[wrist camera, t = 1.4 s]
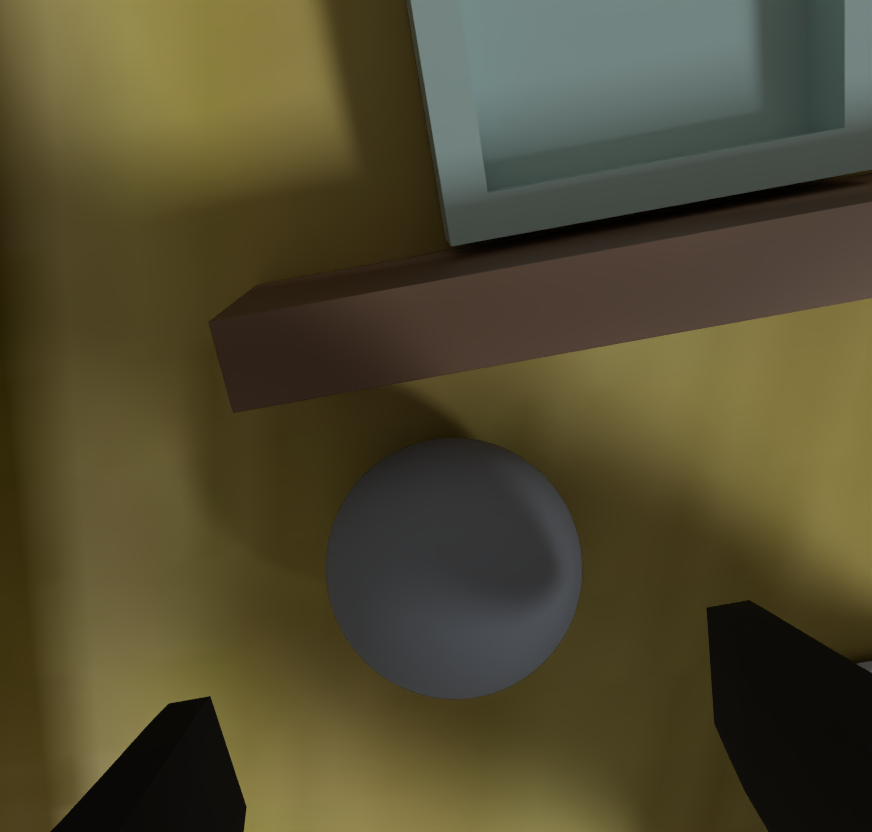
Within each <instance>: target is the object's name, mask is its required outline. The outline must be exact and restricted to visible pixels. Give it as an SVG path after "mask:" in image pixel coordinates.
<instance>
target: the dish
mask: <svg viewBox="0 0 872 832" xmlns="http://www.w3.org/2000/svg"><path fill="white" fill-rule="evenodd" d="M406 4H407V10H408V16H409V22H410V28H411V34H412V40H413V46H414V52H415V58H416V64H417V70H418V76H419V82H420V88H421V94H422V100H423V106H424V112H425V118H426V124H427V130H428V136H429V142H430V148H431V154H432V160H433V166H434V172H435V178H436V184H437V190H438V196H439V202H440V208H441V215H442V221H443V227H444V233H445V238H446V240H447V241H448V243H449V244H450V246H456V245H462V244H467V243H473V242H478V241H484V240H489V239H495V238H500V237H506V236H511V235H517V234H522V233H527V232H533V231H538V230H544V229H549V228H555V227H560V226H566V225H571V224H577V223H582V222H588V221H593V220H599V219H604V218H610V217H615V216H621V215H626V214H632V213H637V212H643V211H648V210H654V209H659V208H665V207H670V206H676V205H681V204H687V203H692V202H697V201H703V200H708V199H714V198H719V197H725V196H730V195H736V194H741V193H747V192H752V191H758V190H763V189H769V188H774V187H780V186H785V185H791V184H796V183H802V182H807V181H813V180H818V179H824V178H829V177H835V176H840V175H846V174H851V173H856V172H862V171H867V170H872V0H406Z"/></svg>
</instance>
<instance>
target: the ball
mask: <svg viewBox="0 0 872 832" xmlns="http://www.w3.org/2000/svg"><path fill="white" fill-rule="evenodd" d="M326 581H327V587H328V593H329V598H330V603H331V606H332V609H333V612H334V615H335V618H336V620H337V622H338V624H339V626H340V628H341V630H342V632H343V634H344V636H345V638H346V639H347V640H348V642H349V643H350V645H351V646H352V648H353V649H354V650H355V651H356V652H357V654H358V655H359V656H360V657H361V658H362V659H363V660H364V661H365V662H366V663H367V664H368V665H369V666H370V667H371V668H372V669H373V670H375V671H376V672H377V673H378V674H379V675H381V676H382V677H384V678H386V679H387V680H389V681H390V682H392V683H394V684H396V685H398V686H400V687H402V688H404V689H407V690H409V691H412V692H414V693H417V694H420V695H424V696H429V697H434V698H442V699H468V698H476V697H481V696H485V695H489V694H492V693H495V692H498V691H501V690H504V689H506V688H508V687H510V686H512V685H514V684H516V683H518V682H519V681H521V680H522V679H524V678H525V677H527V676H528V675H530V674H531V673H532V672H533V671H534V670H536V669H537V668H538V667H539V666H540V665H542V664H543V662H544V661H545V660H546V659H547V658H548V657H549V656H550V655H551V654H552V653H553V652H554V650H555V649H556V648H557V646H558V645H559V644H560V642H561V640H562V639H563V637H564V635H565V633H566V632H567V630H568V628H569V626H570V624H571V622H572V619H573V617H574V614H575V612H576V608H577V604H578V600H579V596H580V591H581V584H582V555H581V547H580V542H579V537H578V533H577V530H576V527H575V525H574V522H573V519H572V516H571V514H570V512H569V510H568V508H567V506H566V504H565V502H564V501H563V499H562V498H561V496H560V495H559V493H558V492H557V491H556V489H555V488H554V487H553V485H552V484H551V482H550V481H549V480H548V479H547V478H546V477H545V476H544V475H543V474H542V473H541V472H540V471H539V470H537V469H536V468H535V467H534V466H532V465H531V464H530V463H528V462H527V461H526V460H524V459H523V458H522V457H520V456H518V455H516V454H515V453H513V452H511V451H509V450H507V449H505V448H502V447H500V446H497V445H495V444H491V443H487V442H484V441H480V440H473V439H466V438H441V439H432V440H428V441H424V442H419V443H416V444H413V445H411V446H408V447H405V448H403V449H400V450H399V451H397V452H395V453H393V454H391V455H389V456H387V457H386V458H384V459H383V460H381V461H380V462H379V463H377V464H376V465H374V466H373V467H372V468H371V469H370V470H369V471H368V472H367V473H366V474H365V475H363V476H362V478H361V479H360V480H359V481H358V482H357V484H356V485H355V486H354V487H353V488H352V490H351V491H350V492H349V494H348V495H347V497H346V499H345V500H344V502H343V504H342V505H341V507H340V509H339V512H338V514H337V516H336V519H335V521H334V524H333V527H332V530H331V534H330V537H329V541H328V548H327V556H326Z"/></svg>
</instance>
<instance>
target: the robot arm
mask: <svg viewBox="0 0 872 832" xmlns="http://www.w3.org/2000/svg"><path fill="white" fill-rule="evenodd" d="M707 620H708V635H709V650H710V665H711V680H712V695H713V709H714V724H715V726H716V728H717V731H718V733H719V735H720V738H721V740H722V742H723V744H724V747H725V749H726V751H727V753H728V756H729V758H730V760H731V762H732V765H733V767H734V769H735V771H736V773H737V775H738V777H739V779H740V782H741V784H742V786H743V788H744V790H745V792H746V794H747V796H748V797H749V799H750V801H751V803H752V804H753V806H754V808H755V809H756V811H757V813H758V814H759V816H760V818H761V819H762V821H763V823H764V825H765V826H766V828H767V830H768V831H769V832H872V661H869V662H863V663H857V664H856V663H854V662H852V661H850V660H849V659H847V658H845V657H844V656H842V655H840V654H838V653H837V652H835V651H833V650H832V649H830V648H828V647H827V646H825V645H823V644H822V643H820V642H818V641H817V640H815V639H813V638H812V637H810V636H808V635H807V634H805V633H803V632H802V631H800V630H799V629H797V628H795V627H794V626H792V625H790V624H789V623H787V622H785V621H784V620H782V619H780V618H779V617H777V616H775V615H774V614H772V613H770V612H769V611H767V610H765V609H764V608H762V607H760V606H759V605H757V604H755V603H753V602H751V601H750V600H747V601H742V602H736V603H731V604H725V605H719V606H714V607H708V608H707ZM245 815H246V804H245V801H244V798H243V795H242V792H241V789H240V786H239V783H238V780H237V777H236V773H235V770H234V767H233V764H232V761H231V758H230V755H229V752H228V749H227V746H226V743H225V740H224V737H223V734H222V731H221V728H220V725H219V722H218V718H217V715H216V712H215V709H214V706H213V703H212V700H211V697H210V696H209V697H203V698H198V699H192V700H187V701H181V702H175V703H170V704H168V705H167V706H166V707H165V708H164V709H163V710H162V711H161V712H160V713H159V714H158V715H157V716H156V717H155V718H154V719H153V720H152V721H151V722H150V724H149V725H148V726H147V727H146V728H145V729H144V730H143V731H142V732H141V733H140V735H139V736H138V737H137V738H136V739H135V740H134V741H133V742H132V743H131V744H130V746H129V747H128V748H127V749H126V750H125V751H124V752H123V753H122V755H121V756H120V757H119V758H118V759H117V760H116V761H115V762H114V763H113V765H112V766H111V767H110V768H109V769H108V770H107V771H106V772H105V773H104V775H103V776H102V777H101V778H100V779H99V780H98V781H97V782H96V783H95V784H94V785H93V787H92V788H91V789H90V790H89V791H88V792H87V793H86V794H85V795H84V796H83V797H82V799H81V800H80V801H79V802H78V803H77V804H76V805H75V806H74V807H73V808H72V809H71V811H70V812H69V813H68V814H67V815H66V816H65V817H64V818H63V819H62V820H61V821H60V822H59V823H58V825H57V826H56V827H55V828H54V829H53V830H52V831H51V832H244V824H245Z"/></svg>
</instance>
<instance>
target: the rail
mask: <svg viewBox="0 0 872 832" xmlns="http://www.w3.org/2000/svg"><path fill="white" fill-rule="evenodd" d="M868 298H872V173H870V174H865V175H859V176H854V177H848V178H843V179H837V180H832V181H826V182H821V183H815V184H810V185H804V186H799V187H793V188H788V189H782V190H777V191H771V192H766V193H760V194H755V195H749V196H744V197H738V198H733V199H727V200H722V201H717V202H711V203H706V204H700V205H695V206H689V207H684V208H678V209H673V210H667V211H662V212H656V213H651V214H645V215H640V216H634V217H629V218H623V219H618V220H612V221H607V222H601V223H596V224H590V225H585V226H579V227H574V228H568V229H563V230H557V231H552V232H546V233H541V234H536V235H530V236H525V237H519V238H514V239H508V240H503V241H497V242H492V243H486V244H481V245H475V246H470V247H464V248H459V249H453V250H448V251H442V252H437V253H431V254H426V255H420V256H415V257H409V258H404V259H398V260H393V261H387V262H382V263H376V264H371V265H365V266H360V267H355V268H349V269H344V270H338V271H333V272H327V273H322V274H316V275H311V276H305V277H300V278H294V279H289V280H283V281H278V282H272V283H267V284H261V285H256V286H255V287H253V288H252V289H251V290H250V291H248V292H247V293H246V294H244V295H243V296H242V297H240V298H239V299H238V300H237V301H235V302H234V303H233V304H231V305H230V306H229V307H227V308H226V309H225V310H224V311H222V312H221V313H220V314H218V315H217V316H216V317H215V318H213V319H212V320H211V321H209V322H208V323H209V327H210V330H211V334H212V337H213V341H214V345H215V348H216V352H217V356H218V359H219V363H220V367H221V370H222V374H223V378H224V381H225V385H226V389H227V392H228V396H229V400H230V403H231V407H232V410H233V413H236V412H241V411H247V410H252V409H258V408H263V407H269V406H274V405H280V404H286V403H291V402H297V401H302V400H308V399H313V398H319V397H324V396H330V395H335V394H341V393H347V392H352V391H358V390H363V389H369V388H374V387H380V386H385V385H391V384H396V383H402V382H408V381H413V380H419V379H424V378H430V377H435V376H441V375H446V374H452V373H457V372H463V371H469V370H474V369H480V368H485V367H491V366H496V365H502V364H507V363H513V362H518V361H524V360H530V359H535V358H541V357H546V356H552V355H557V354H563V353H568V352H574V351H579V350H585V349H591V348H596V347H602V346H607V345H613V344H618V343H624V342H629V341H635V340H640V339H646V338H652V337H657V336H663V335H668V334H674V333H679V332H685V331H690V330H696V329H701V328H707V327H713V326H718V325H724V324H729V323H735V322H740V321H746V320H751V319H757V318H762V317H768V316H774V315H779V314H785V313H790V312H796V311H801V310H807V309H812V308H818V307H823V306H829V305H835V304H840V303H846V302H851V301H857V300H862V299H868Z"/></svg>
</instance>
